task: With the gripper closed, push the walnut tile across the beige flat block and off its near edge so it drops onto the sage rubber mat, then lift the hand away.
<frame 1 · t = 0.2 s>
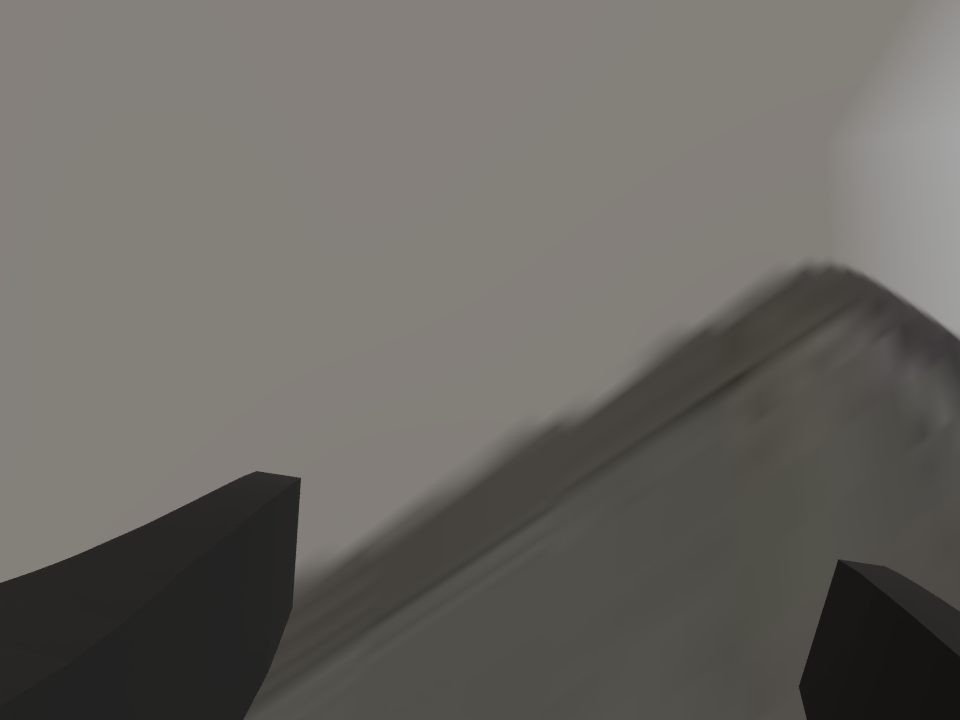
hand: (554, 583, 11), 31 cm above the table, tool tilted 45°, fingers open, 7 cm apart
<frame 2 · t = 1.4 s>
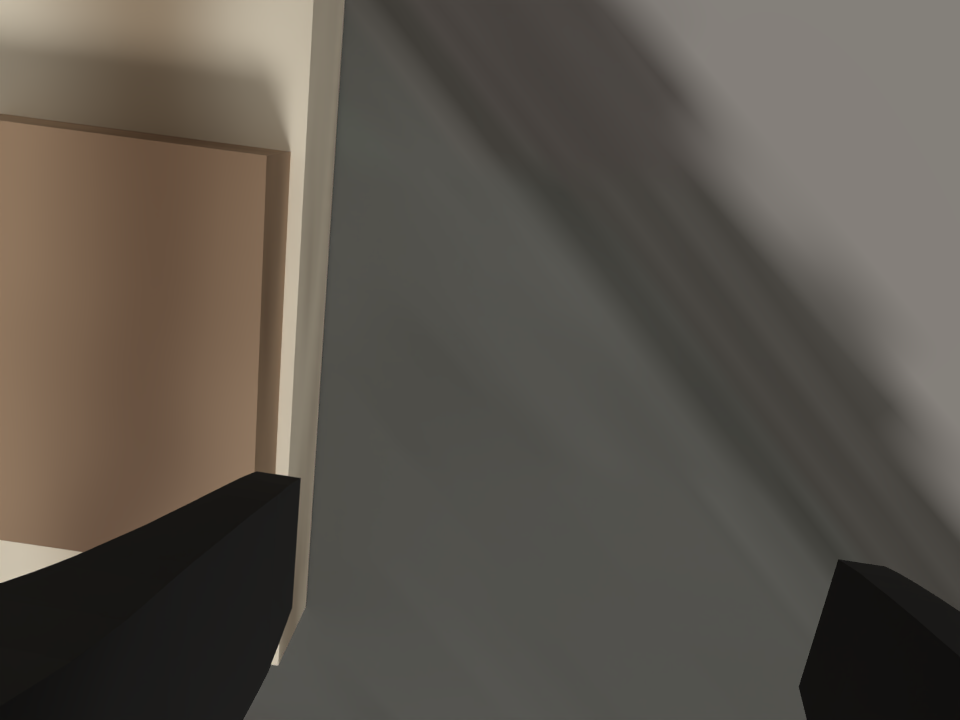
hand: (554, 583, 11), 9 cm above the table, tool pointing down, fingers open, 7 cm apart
tile: (146, 343, 17), point 2 cm above the table, touching beige flat block
beige flat block: (176, 313, 20), on the table
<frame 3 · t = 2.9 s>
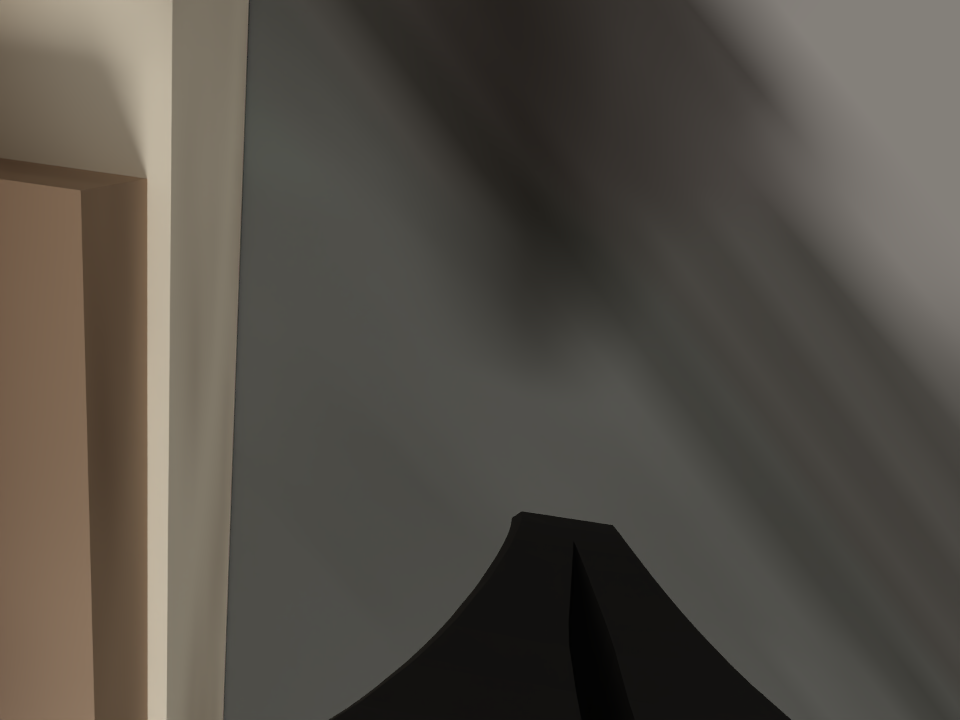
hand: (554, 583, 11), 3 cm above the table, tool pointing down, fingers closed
beige flat block: (20, 402, 14), on the table
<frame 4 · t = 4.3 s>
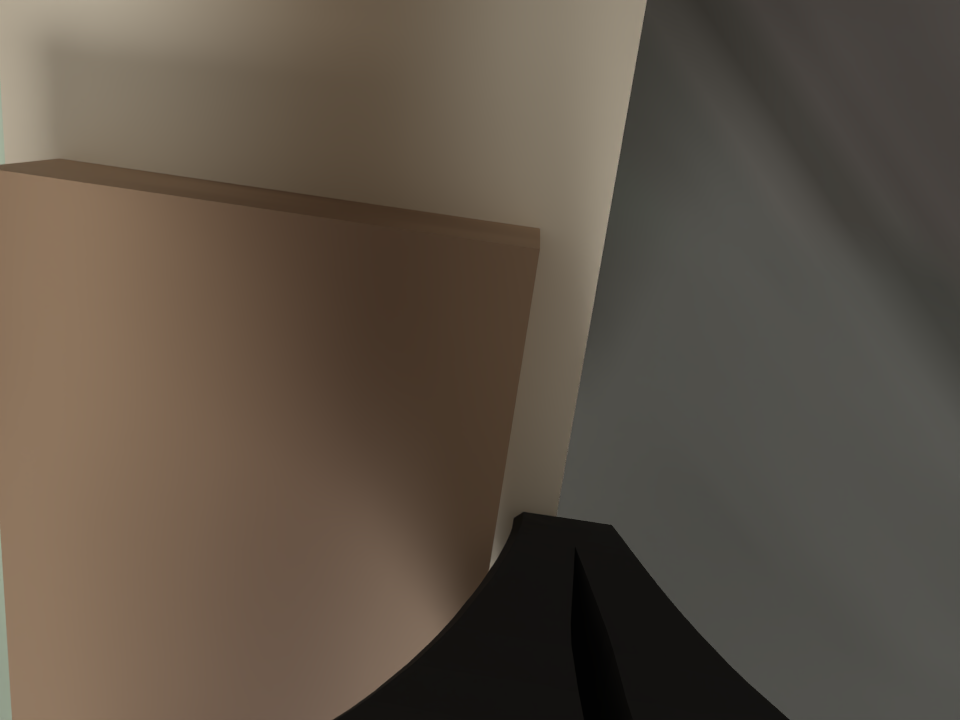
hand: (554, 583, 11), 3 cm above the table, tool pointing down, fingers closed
tile: (277, 516, 11), point 3 cm above the table, touching gripper
beige flat block: (328, 448, 14), on the table
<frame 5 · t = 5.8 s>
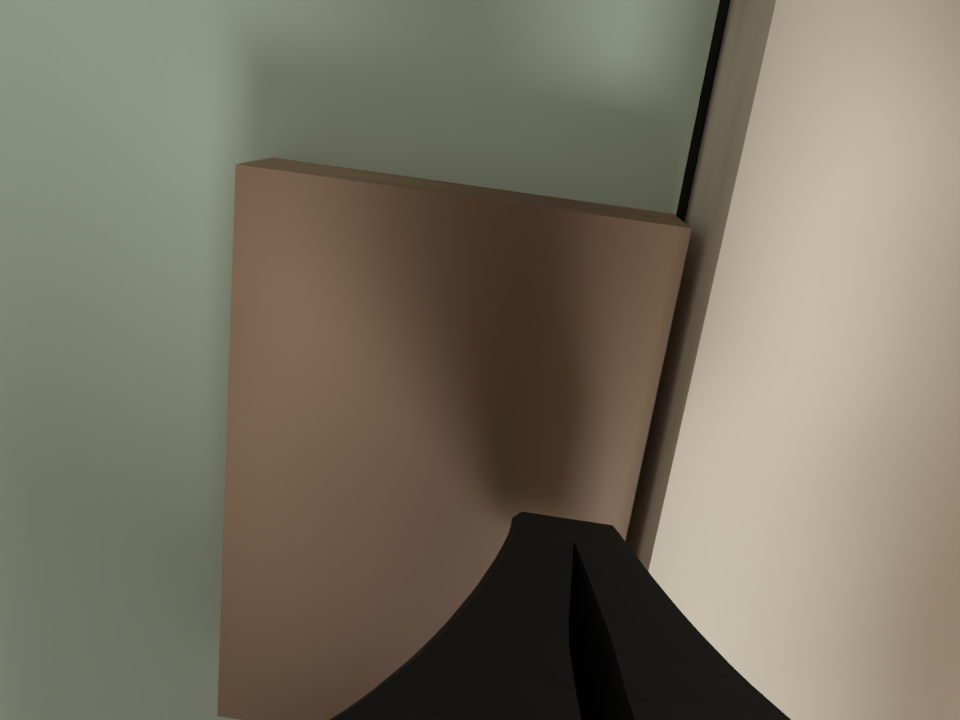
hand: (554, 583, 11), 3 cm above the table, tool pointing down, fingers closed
tile: (437, 460, 13), resting on mat
mat: (230, 434, 14), on the table
beige flat block: (850, 527, 13), on the table
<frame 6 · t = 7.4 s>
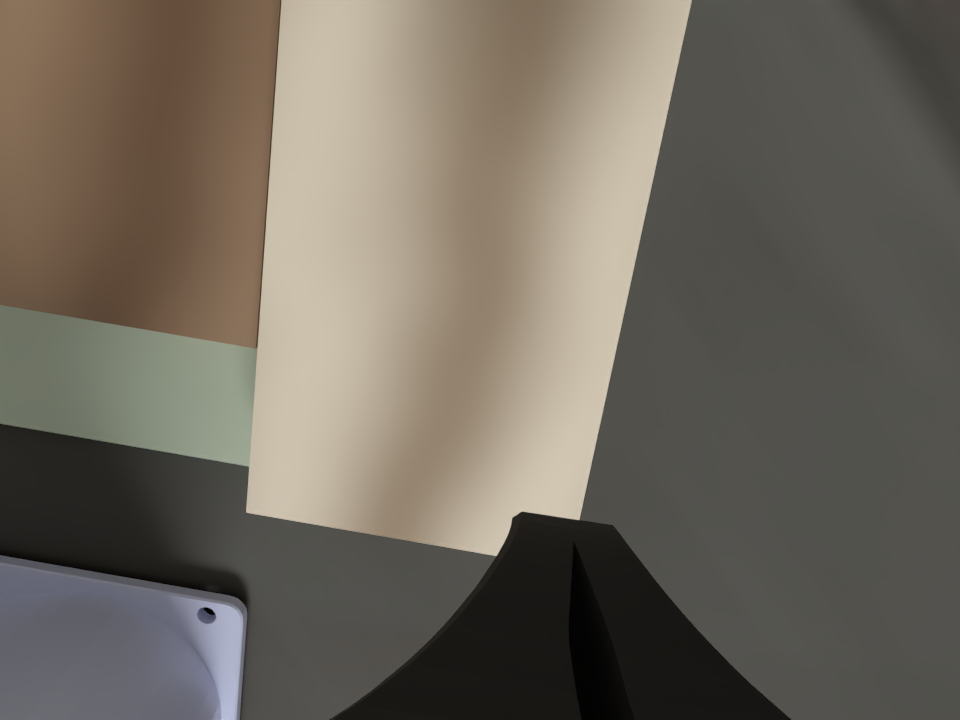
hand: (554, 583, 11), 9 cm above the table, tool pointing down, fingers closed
tile: (161, 118, 18), resting on mat
mat: (14, 104, 18), on the table
beige flat block: (467, 178, 18), on the table
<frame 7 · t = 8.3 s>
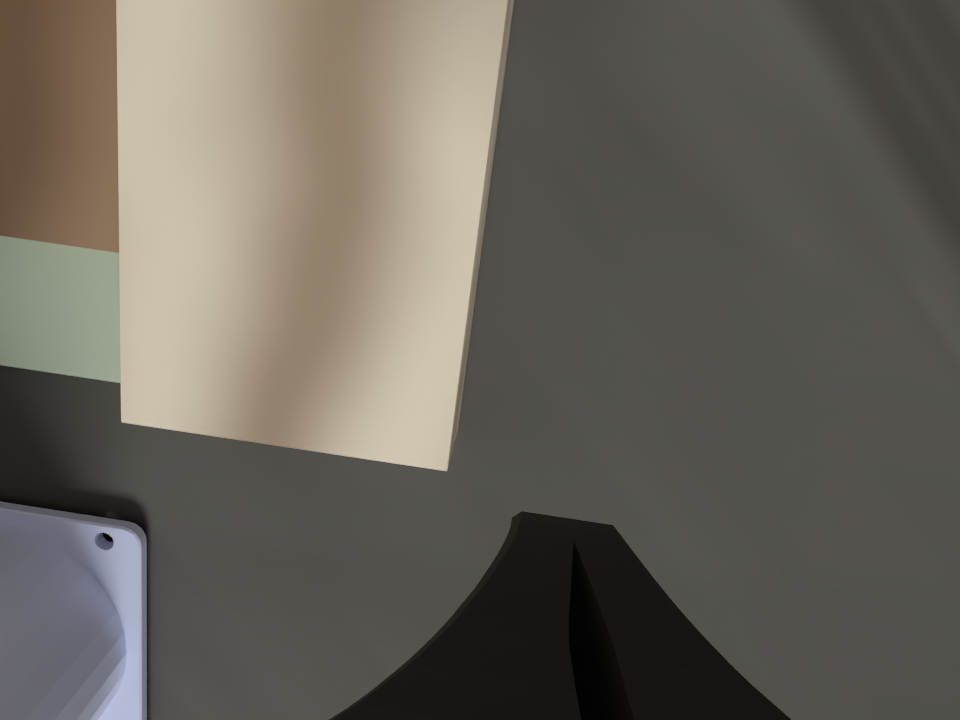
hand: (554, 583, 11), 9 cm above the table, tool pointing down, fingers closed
tile: (24, 24, 18), resting on mat
beige flat block: (335, 78, 18), on the table
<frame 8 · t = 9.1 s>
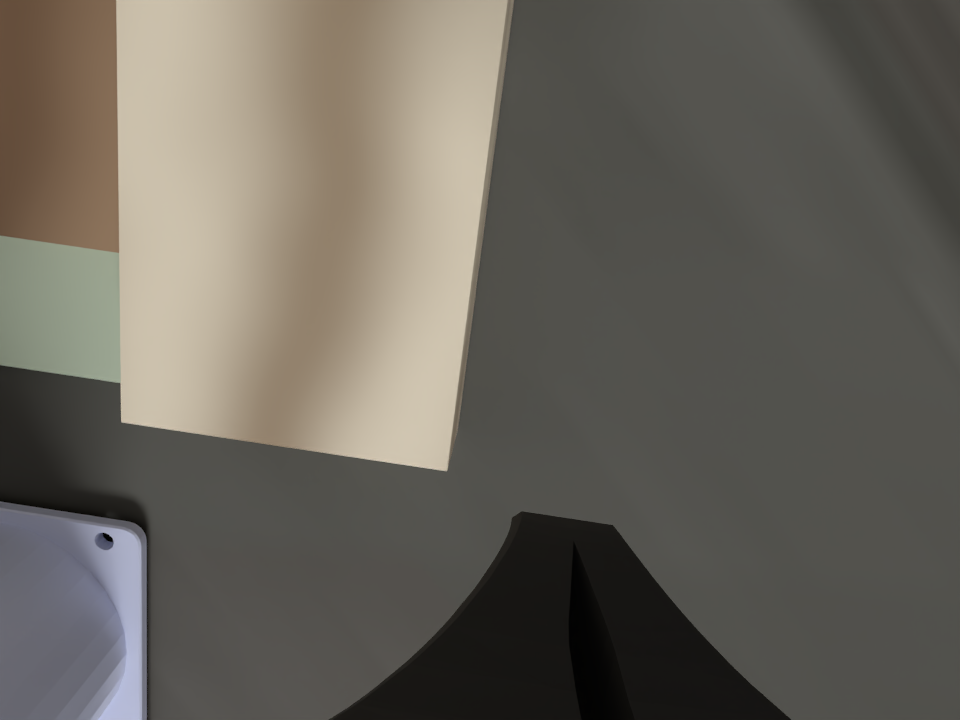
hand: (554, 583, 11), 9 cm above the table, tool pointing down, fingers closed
tile: (24, 24, 18), resting on mat
beige flat block: (335, 78, 18), on the table
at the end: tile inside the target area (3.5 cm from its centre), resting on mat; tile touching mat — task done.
